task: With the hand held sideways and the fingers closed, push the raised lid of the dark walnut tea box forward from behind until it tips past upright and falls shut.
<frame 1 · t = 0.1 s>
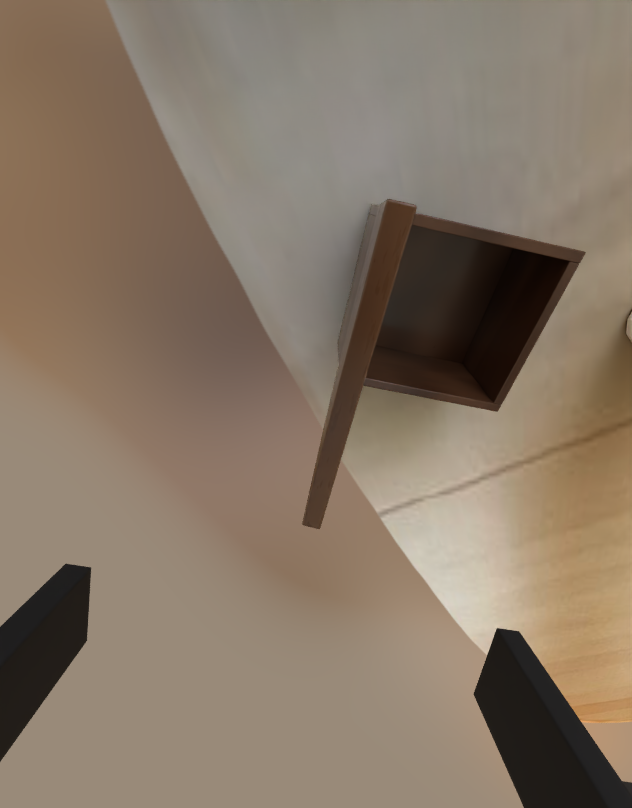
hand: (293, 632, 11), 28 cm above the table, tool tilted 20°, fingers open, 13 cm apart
tea box: (422, 294, 32), on the table
lid: (354, 339, 18), point 16 cm above the table, hinge at 96.0°
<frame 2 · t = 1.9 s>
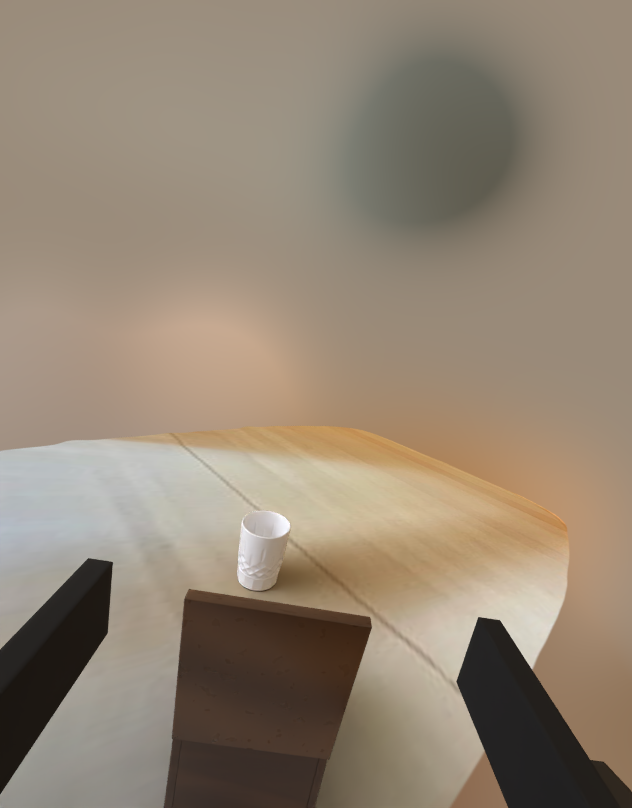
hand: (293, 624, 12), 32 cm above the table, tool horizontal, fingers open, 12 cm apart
tea box: (250, 734, 36), on the table
white cup: (257, 577, 58), on the table
lid: (264, 681, 25), point 16 cm above the table, hinge at 96.0°
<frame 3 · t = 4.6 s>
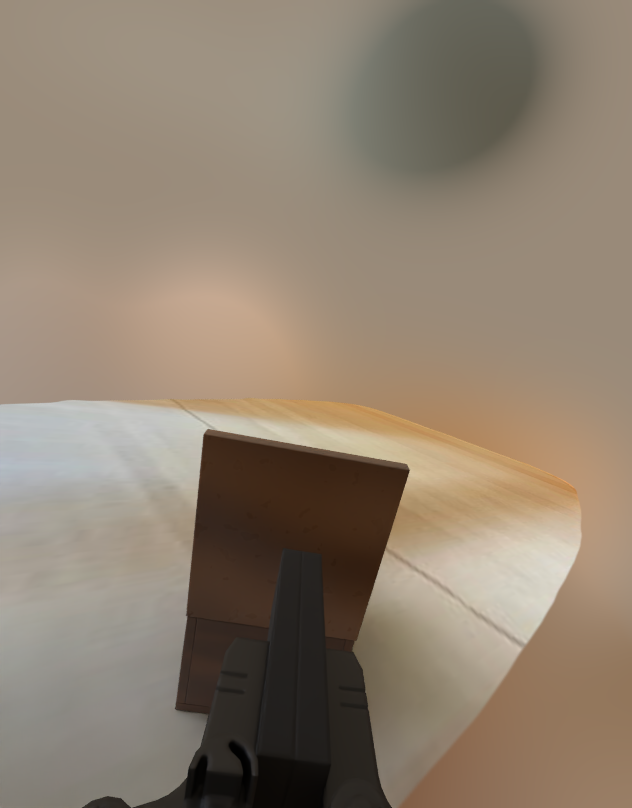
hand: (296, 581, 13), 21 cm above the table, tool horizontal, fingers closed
tea box: (265, 643, 34), on the table
lid: (289, 545, 23), point 16 cm above the table, hinge at 96.0°
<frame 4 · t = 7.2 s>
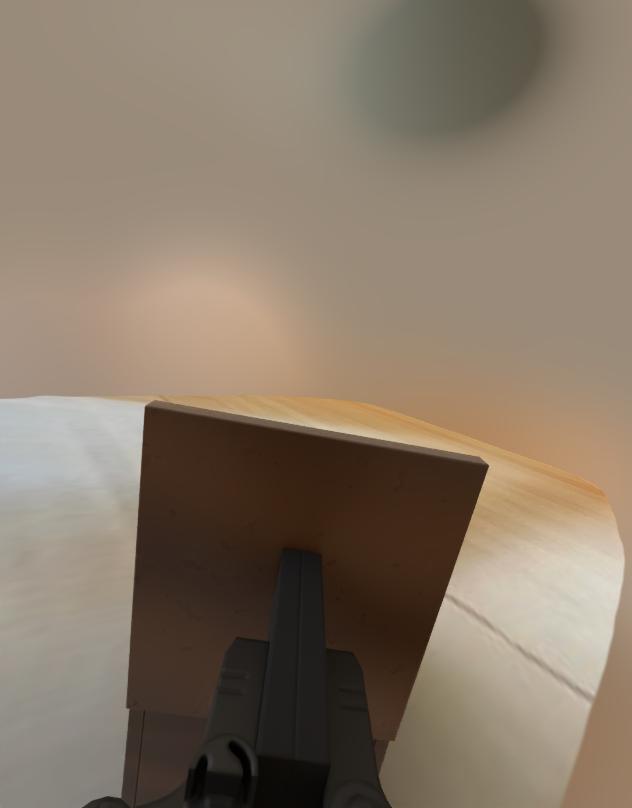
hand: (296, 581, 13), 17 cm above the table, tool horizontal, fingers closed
tea box: (256, 712, 25), on the table
lid: (289, 592, 14), point 16 cm above the table, hinge at 92.7°, touching gripper
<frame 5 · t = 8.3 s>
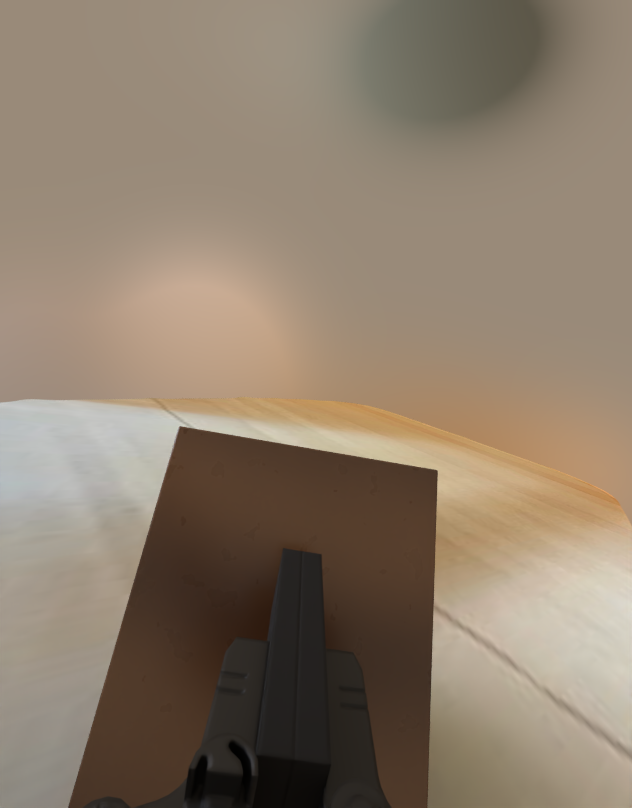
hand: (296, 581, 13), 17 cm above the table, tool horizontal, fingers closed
lid: (284, 619, 14), point 15 cm above the table, hinge at 58.5°
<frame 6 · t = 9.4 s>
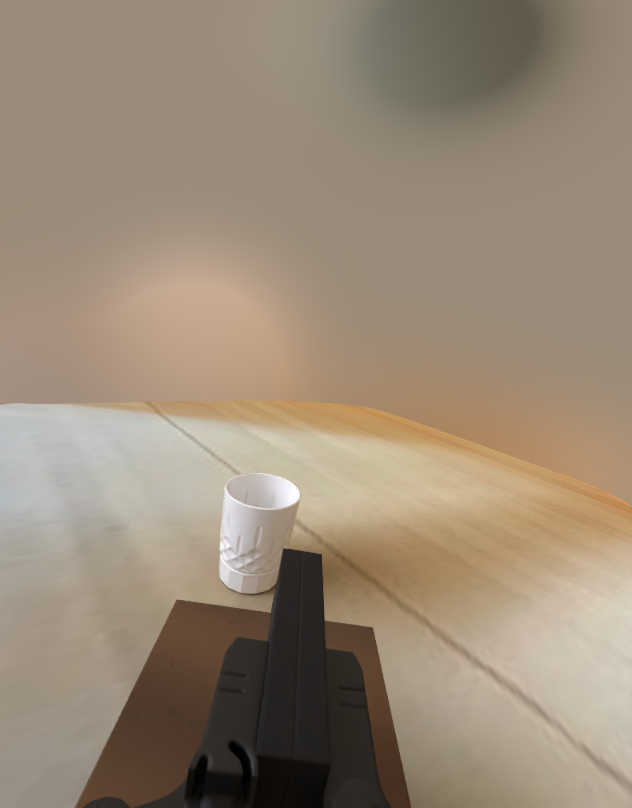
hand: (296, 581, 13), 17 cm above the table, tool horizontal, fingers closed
white cup: (249, 573, 38), on the table
lid: (259, 755, 15), point 9 cm above the table, hinge at -0.2°
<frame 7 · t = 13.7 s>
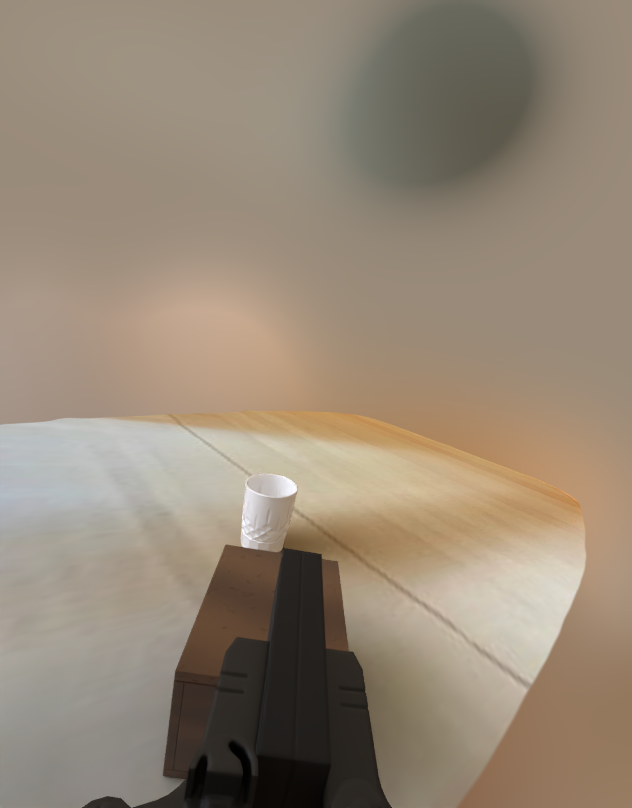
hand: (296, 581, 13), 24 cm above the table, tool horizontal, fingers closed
tea box: (259, 693, 32), on the table
white cup: (262, 544, 54), on the table
lid: (275, 606, 31), point 9 cm above the table, hinge at -0.2°
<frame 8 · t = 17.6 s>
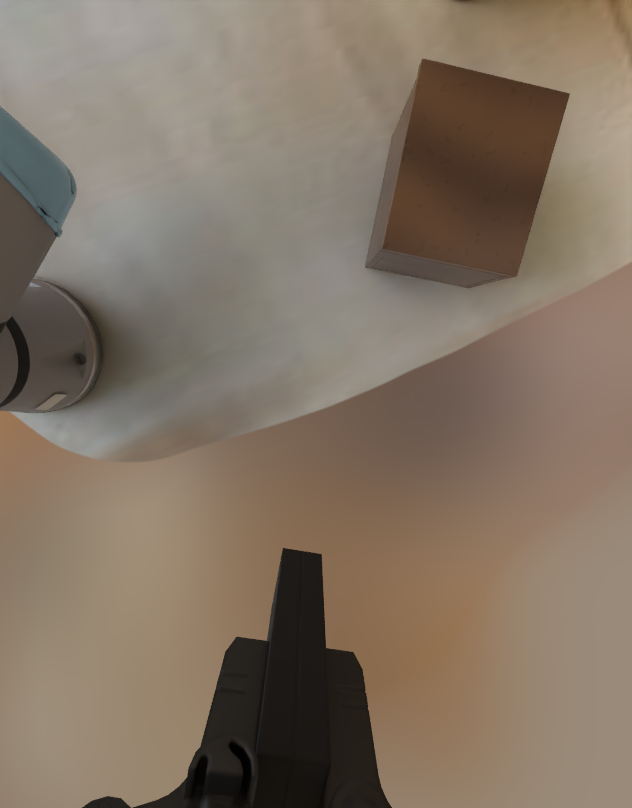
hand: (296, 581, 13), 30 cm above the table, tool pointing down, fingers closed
tea box: (432, 215, 39), on the table
lid: (470, 175, 30), point 9 cm above the table, hinge at -0.2°
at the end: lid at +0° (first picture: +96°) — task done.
